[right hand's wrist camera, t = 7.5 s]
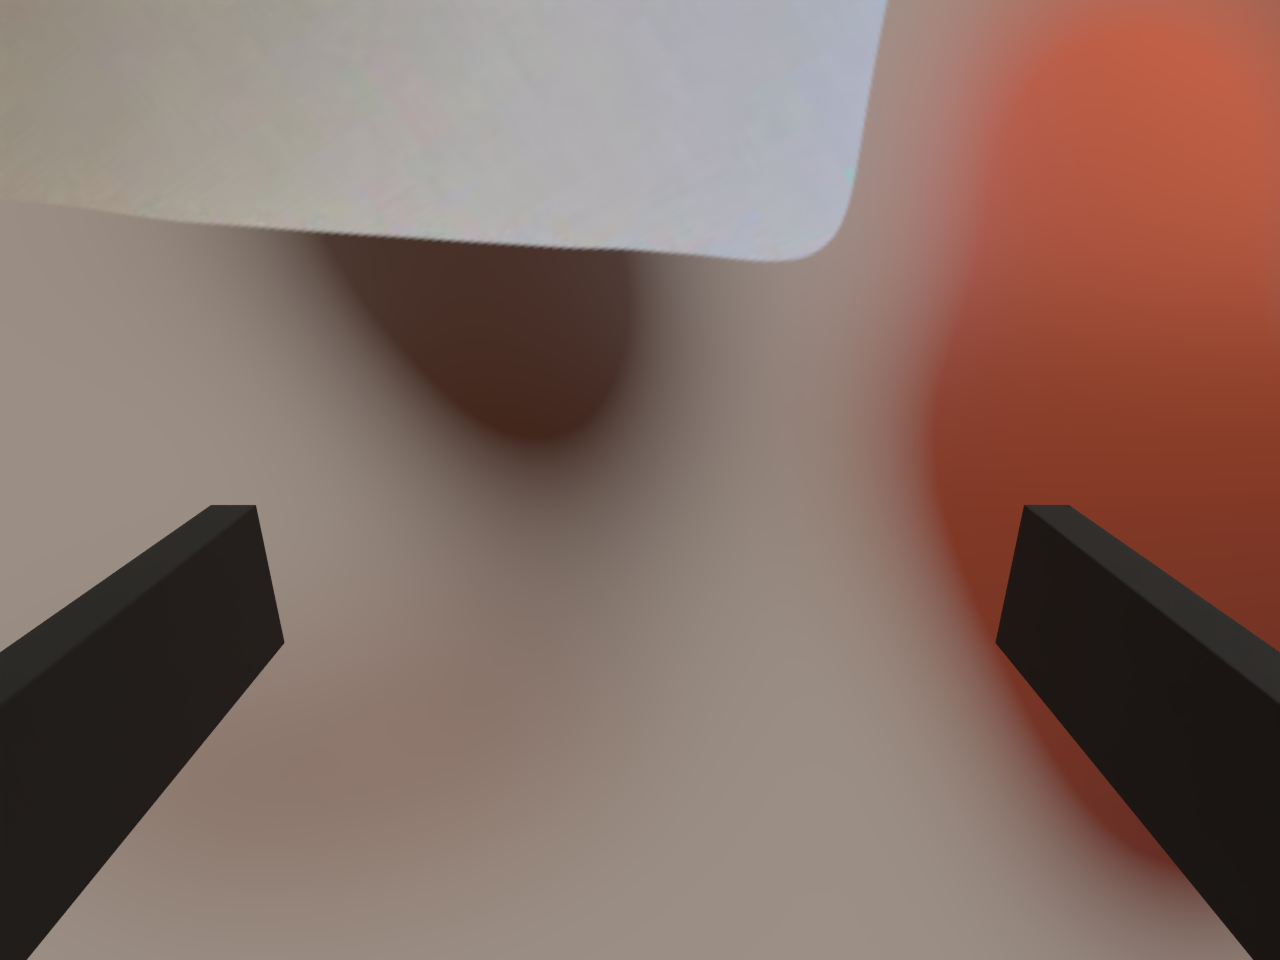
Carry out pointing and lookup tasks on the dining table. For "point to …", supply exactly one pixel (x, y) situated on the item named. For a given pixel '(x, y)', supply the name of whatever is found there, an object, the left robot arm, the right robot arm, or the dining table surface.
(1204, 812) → the right robot arm
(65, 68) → the dining table surface
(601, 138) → the dining table surface
